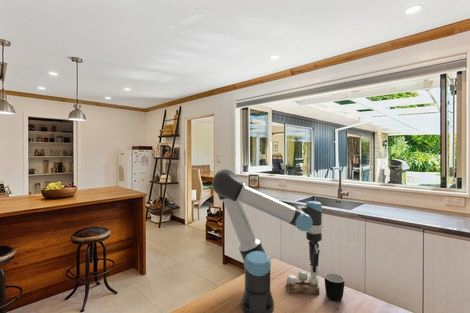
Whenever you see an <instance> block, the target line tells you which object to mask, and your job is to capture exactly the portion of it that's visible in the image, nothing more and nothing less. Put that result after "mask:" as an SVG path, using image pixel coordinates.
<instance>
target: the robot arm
mask: <svg viewBox="0 0 470 313" xmlns="http://www.w3.org/2000/svg"><path fill="white" fill-rule="evenodd" d="M211 186H212V190H213V191H214V193H216V194H217V197H218V198H219V199H218V200H220V201H221V202H223V204H224V206H225V208H226V211H227V214H228V216H229V219H230V222H231V224H232V227H233V229H234V231H235V232H234V233H235V234H236V236H237V239H238V242H239V247H238V251H239V253H240V255H241V258H242V260H243V267H244V291H243V294H242V296H241V300H240V307H241V310H242V311H243V313H273V312H274V310H275V301H274V298H273V295H272V292H271V268H272V267H271V266H272V263H271V258H270V256H269V255H268V254H267V253H266V251H265V248H264V247H263V245H262V242H261V240H260V239H259V238H257V237H256V235H255V232H254V230H253V228H252V225H251V223H250V220H249V217H248V215H247V214H248V213H247V211H246V209H245V207H244V204H245V205H247V206H250V207H252V208H254V209H256V210H258V211H261V212H262V213H265V214H268V215H270V216H272V217H274V218H277V219H278V220H280V221H283V222H286V223H288V224H289V225H292V226H294V227H295V228H296V229H298V230H300V231H301V232H306V233H305V236H306V240H308V246H309V247H308V248H309V249H308V250H309V253H308V255H309V261H310V264H309V266H310V276H311V278H317V277H318V276H317V275H318V270H317V269H318V267H319V257H320V249H319V248H320V245H319V242H321V241H322V239H323V238H322V237H323V236H322V228H323V227H324V226H323V225H322V223H323V222H322V221H323V220H322V219H323V217H322V216H323V215H322V214H323V206H322V203H321V202H320V201H315V200H310V201H309V200H308V201H306V203H305V205H289V204H287V203H285V202H283V201H280V200H278V199H275V198H273V197H271V196H269V195H267V194H264V193H262V192H261V191H258V190H255V189H254V188H251V187H250V186H247V185H246V184H245V182H243V181H242V180H240V179H238V178H237V176H236V174H235V173H234V172H233V171H231V169H221V170H219V171H217V172H216V173H215V175H214V176H213V178H212V182H211Z"/></svg>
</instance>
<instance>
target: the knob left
mask: <svg viewBox="0 0 470 313" xmlns="http://www.w3.org/2000/svg"><path fill="white" fill-rule="evenodd" d="M287 279H288V280H287ZM287 279H286V283H287V282H288V284H290V285H295V284H296V279H297V276H296V275H294V274H289V275H287Z"/></svg>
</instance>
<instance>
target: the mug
mask: <svg viewBox="0 0 470 313" xmlns="http://www.w3.org/2000/svg"><path fill="white" fill-rule="evenodd" d="M324 287H325V294H326V298H327V299H328V300H330V301H332V302H341V301H342V299H343V297H344V290H345V278H344V276H343V275H341V274H338V273H334V272H328V273H326V274H325V275H324Z"/></svg>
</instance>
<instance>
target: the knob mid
mask: <svg viewBox="0 0 470 313" xmlns="http://www.w3.org/2000/svg"><path fill="white" fill-rule="evenodd" d="M297 275H298V276H297V278H298V279H299V280H301V283H302V284H304V281H305V280H308V272H307V271H305V270H298V273H297Z"/></svg>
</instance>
